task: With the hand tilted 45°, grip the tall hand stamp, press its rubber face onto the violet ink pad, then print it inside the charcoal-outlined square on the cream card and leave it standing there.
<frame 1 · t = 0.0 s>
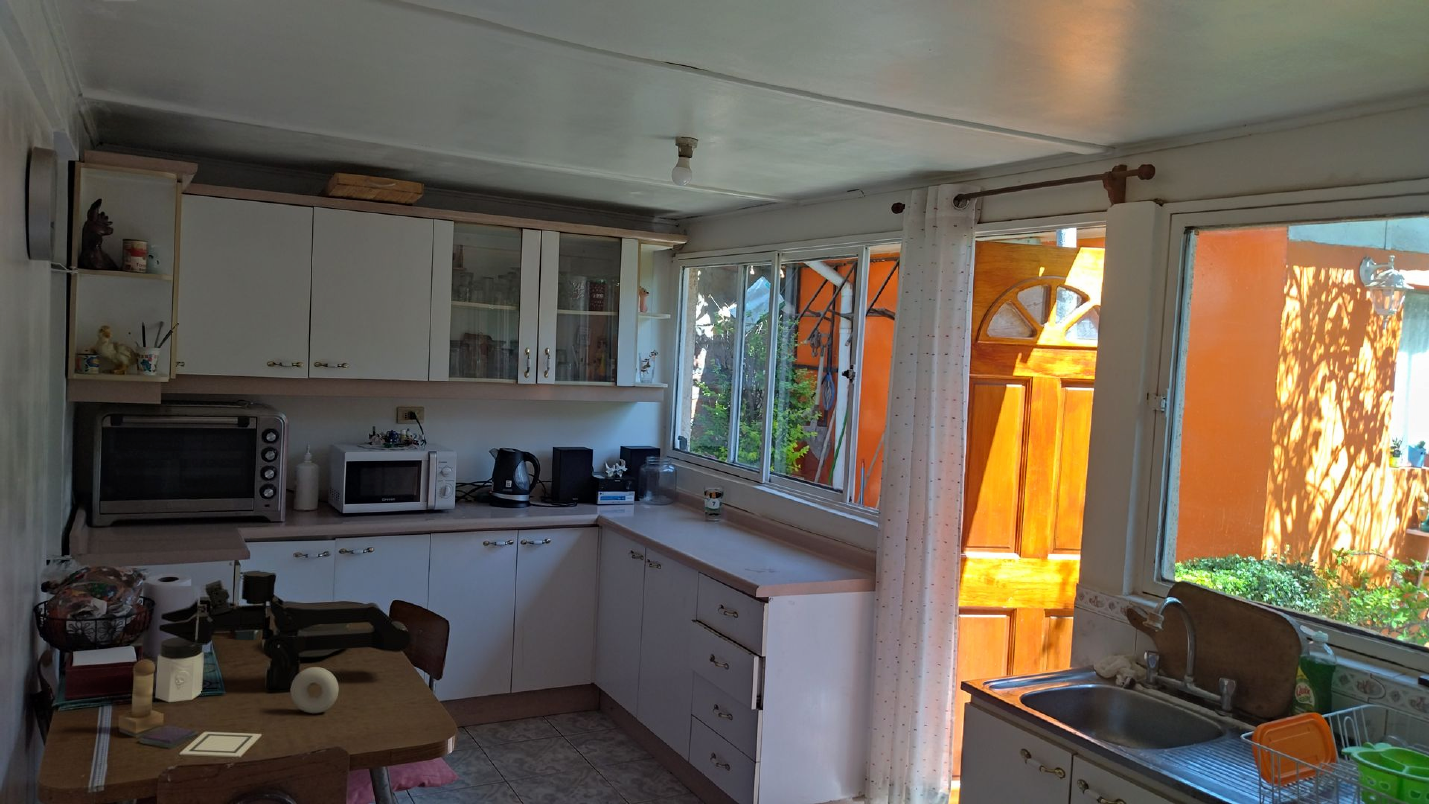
hand: (160, 621, 212), 17 cm above the table, tool horizontal, fingers open, 9 cm apart
casserole: (313, 650, 254), on the table
stamp: (140, 730, 194), on the table
watch: (248, 637, 261), on the table
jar: (178, 696, 215), on the table
print card: (221, 745, 190), on the table
ink pad: (168, 739, 191), on the table
donut: (313, 714, 210), on the table
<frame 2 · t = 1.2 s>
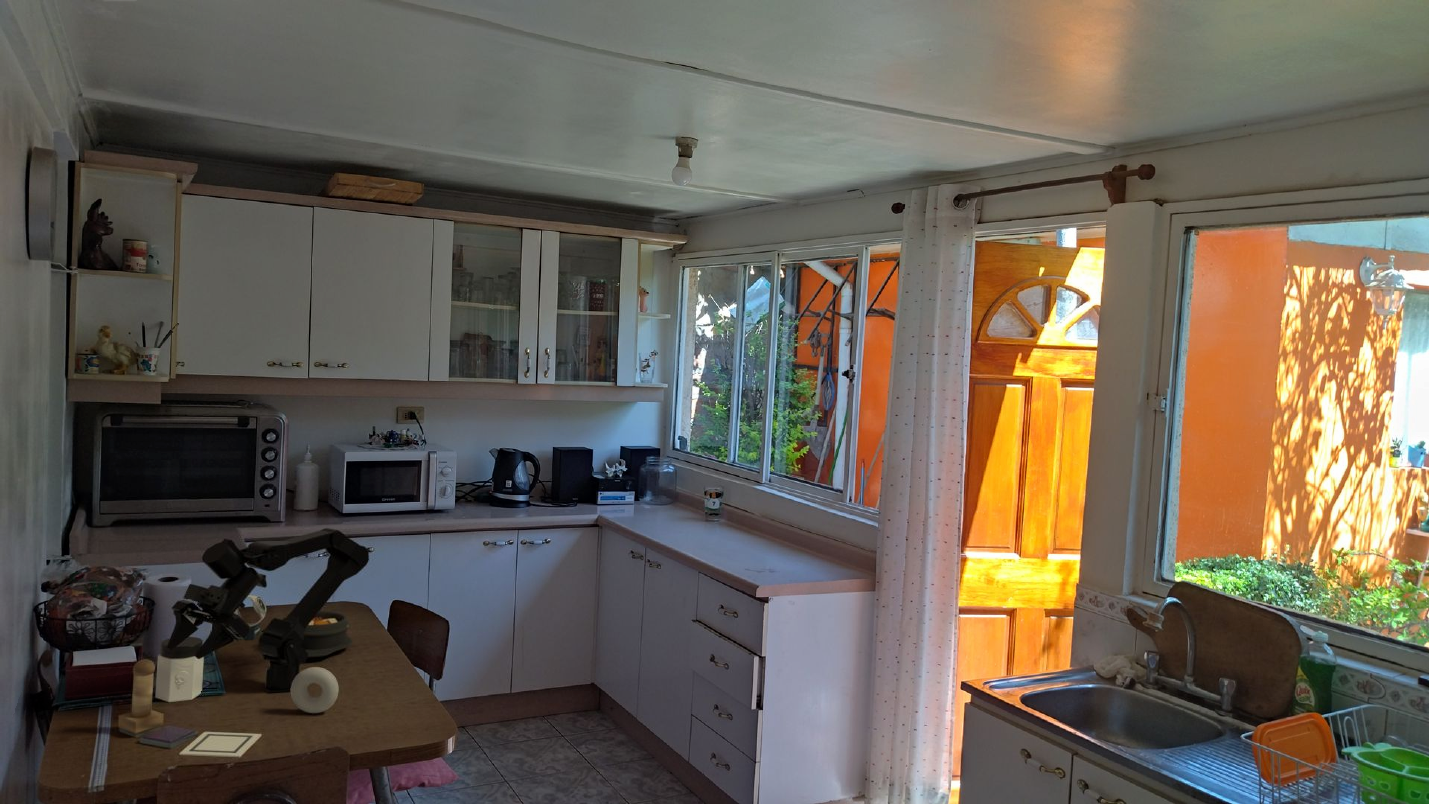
hand: (182, 653, 201), 14 cm above the table, tool tilted 45°, fingers open, 9 cm apart
nothing on the table moved.
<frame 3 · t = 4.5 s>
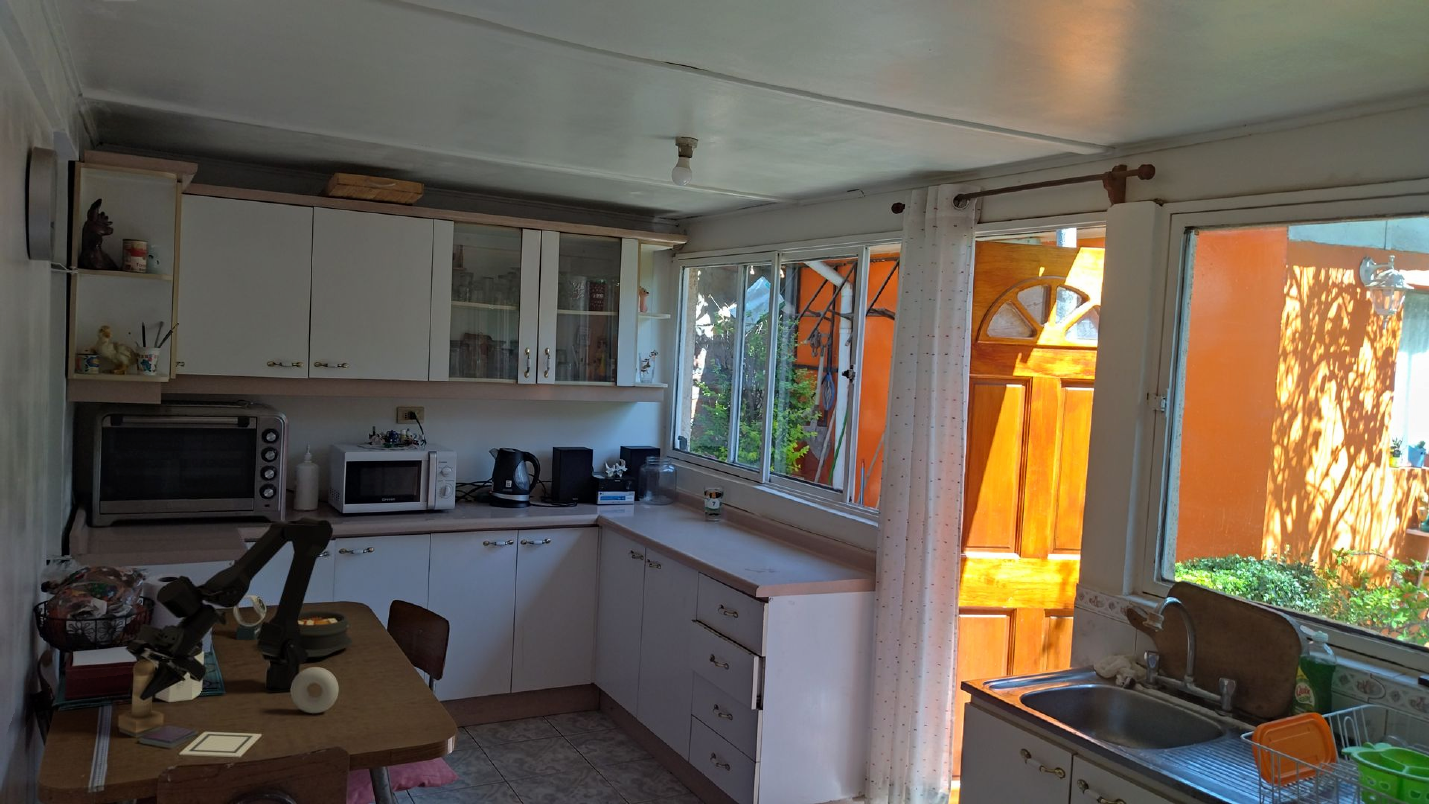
hand: (135, 697, 193), 7 cm above the table, tool tilted 45°, fingers closed on stamp, 3 cm apart
stamp: (140, 730, 194), on the table, touching gripper
everything else where it was.
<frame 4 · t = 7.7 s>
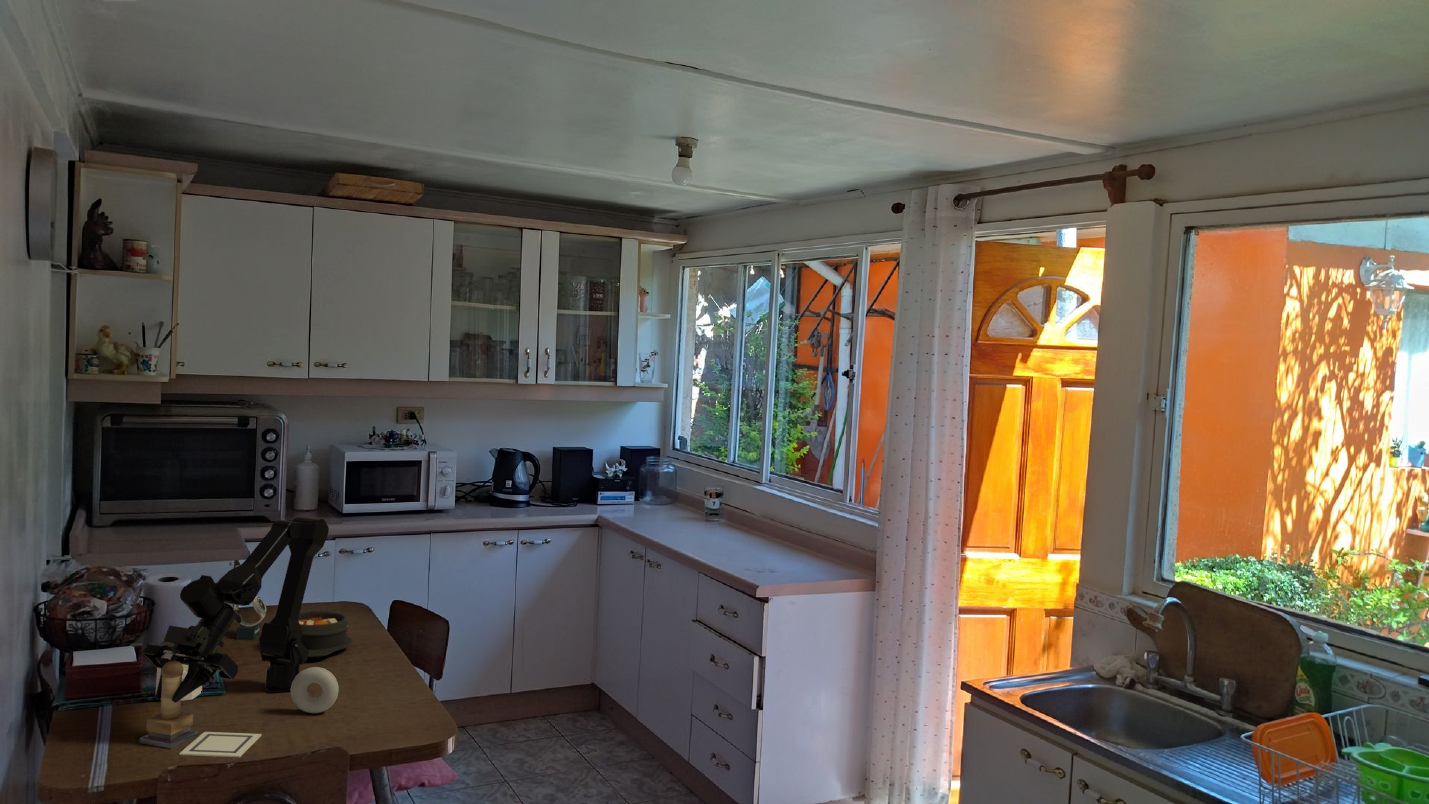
hand: (165, 700, 189), 8 cm above the table, tool tilted 45°, fingers closed on stamp, 3 cm apart
stamp: (169, 732, 191), point 1 cm above the table, touching gripper, ink pad
everything else where it was.
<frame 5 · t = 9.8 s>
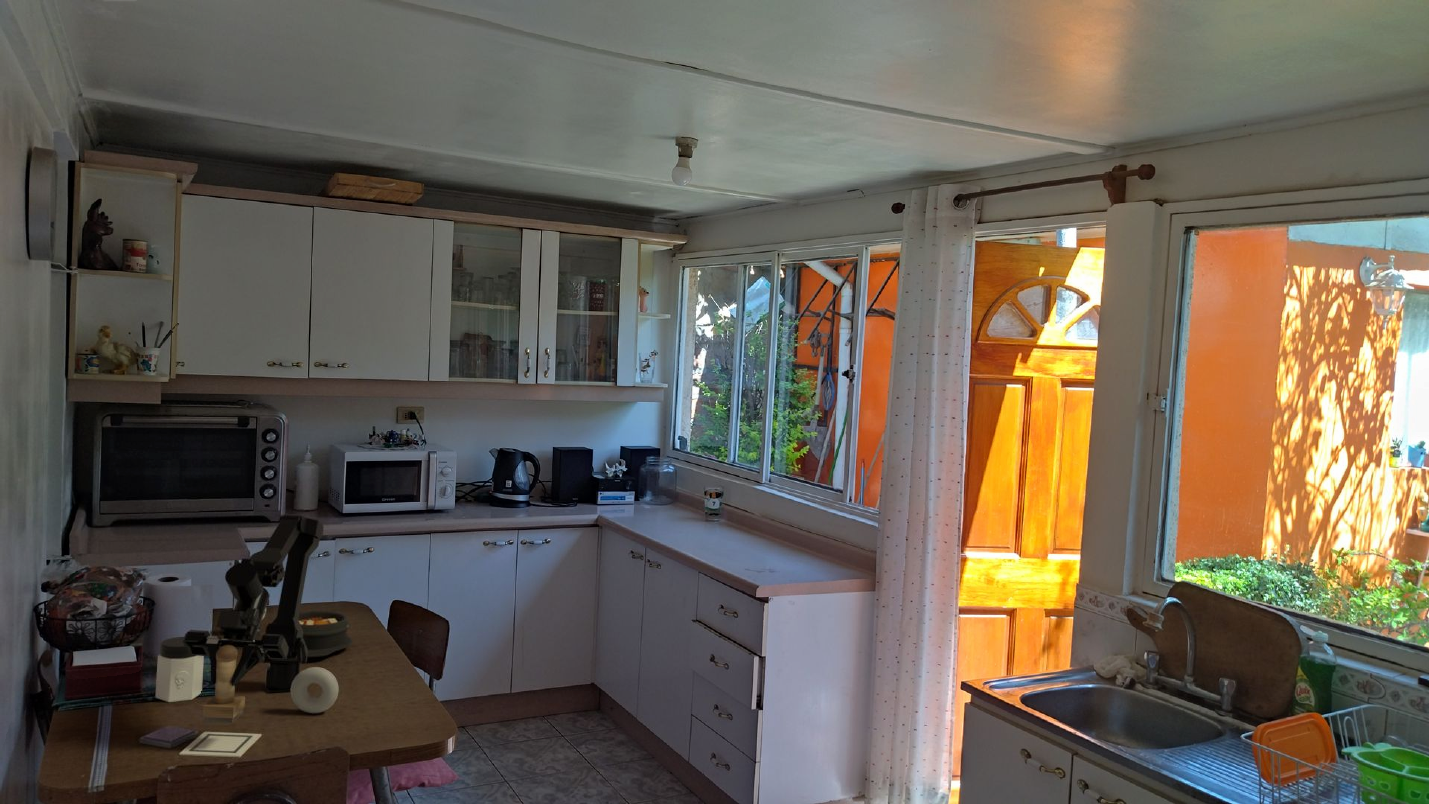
hand: (222, 684, 189), 12 cm above the table, tool tilted 45°, fingers closed on stamp, 3 cm apart
stamp: (223, 717, 191), point 5 cm above the table, touching gripper
everything else where it was.
when the fingers open (7 cm above the table, at t = 11.0 s): stamp stays where it is, resting on print card.
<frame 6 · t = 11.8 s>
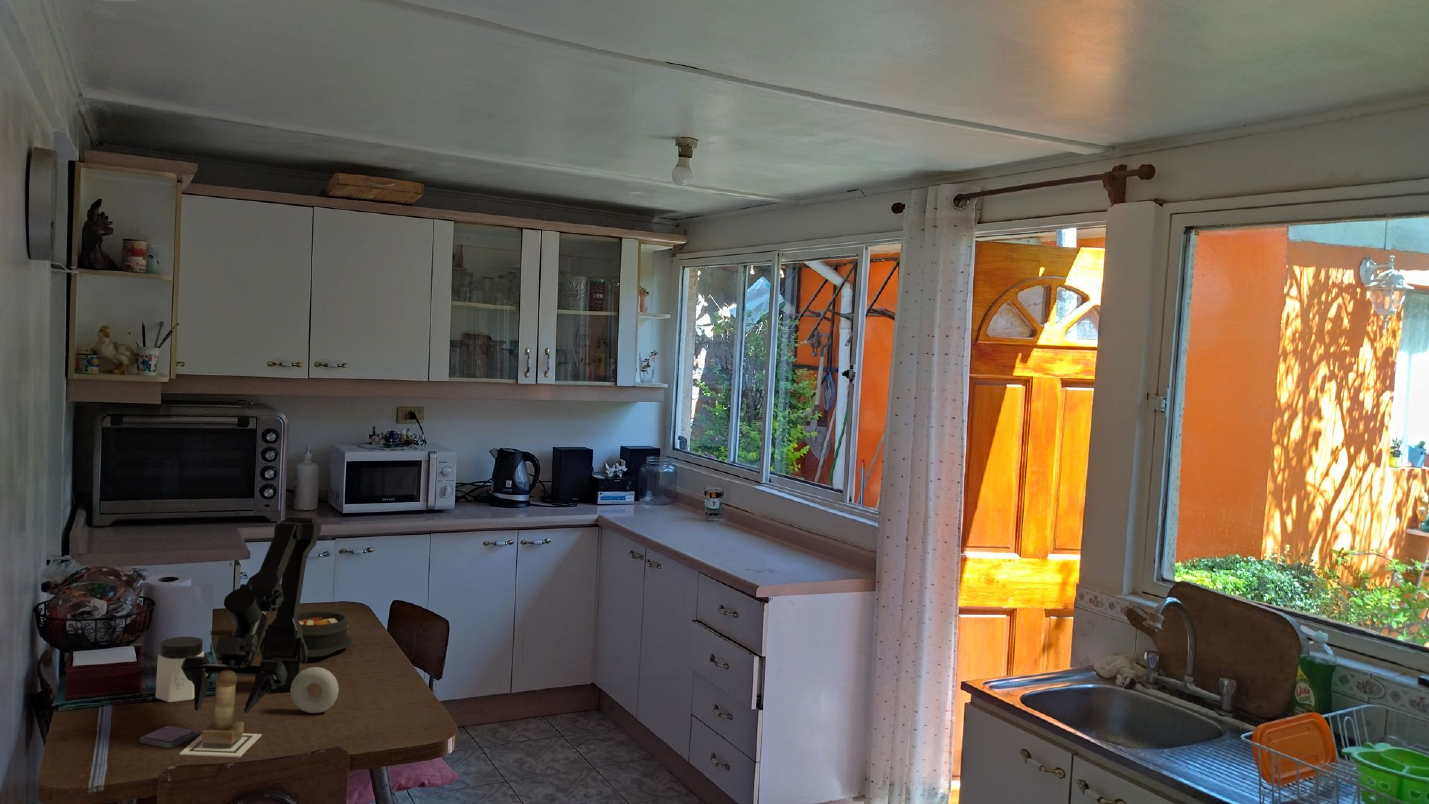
hand: (220, 711, 189), 7 cm above the table, tool tilted 45°, fingers open, 9 cm apart
stamp: (222, 742, 191), resting on print card
everything else where it was.
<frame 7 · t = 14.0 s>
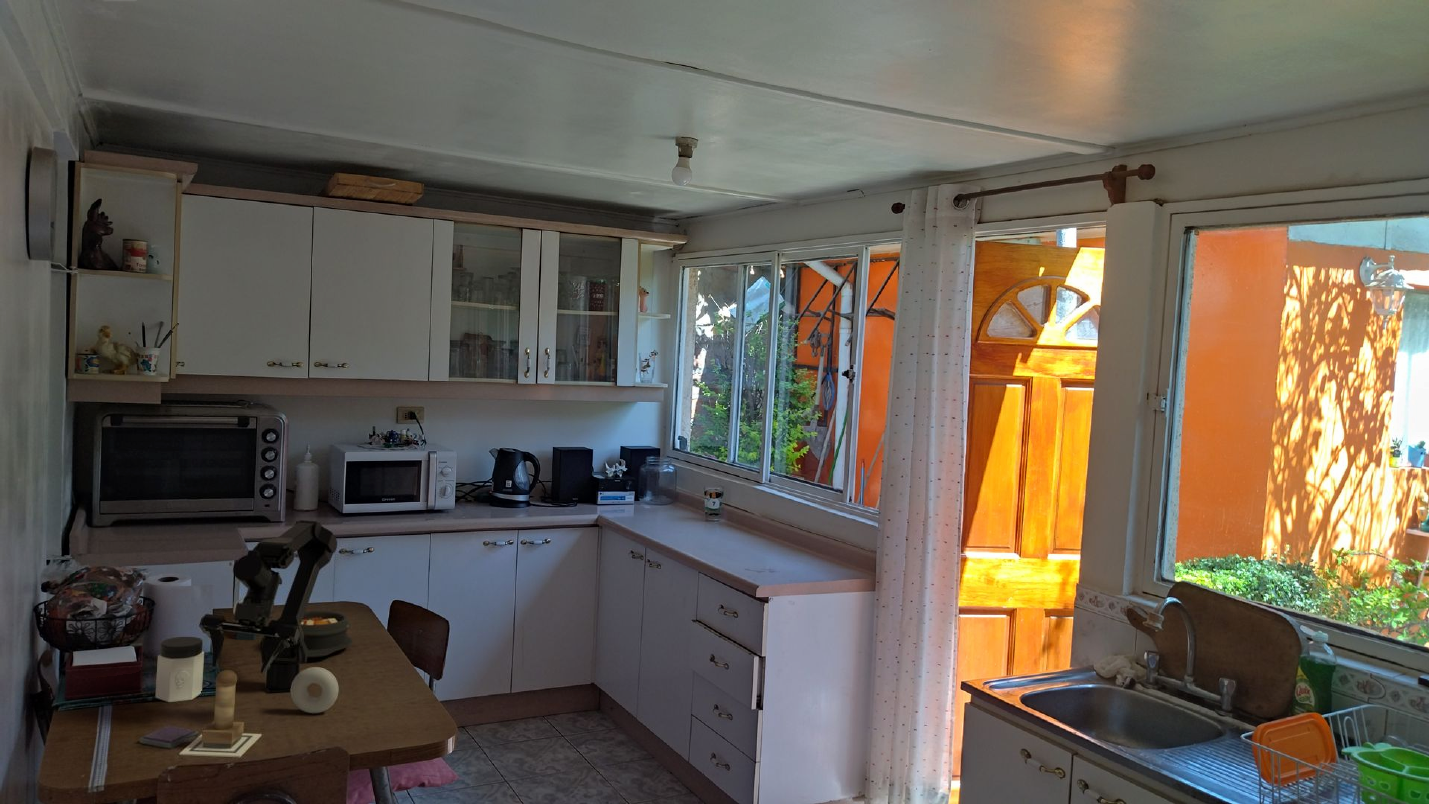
hand: (238, 670, 201), 11 cm above the table, tool tilted 35°, fingers open, 9 cm apart
nothing on the table moved.
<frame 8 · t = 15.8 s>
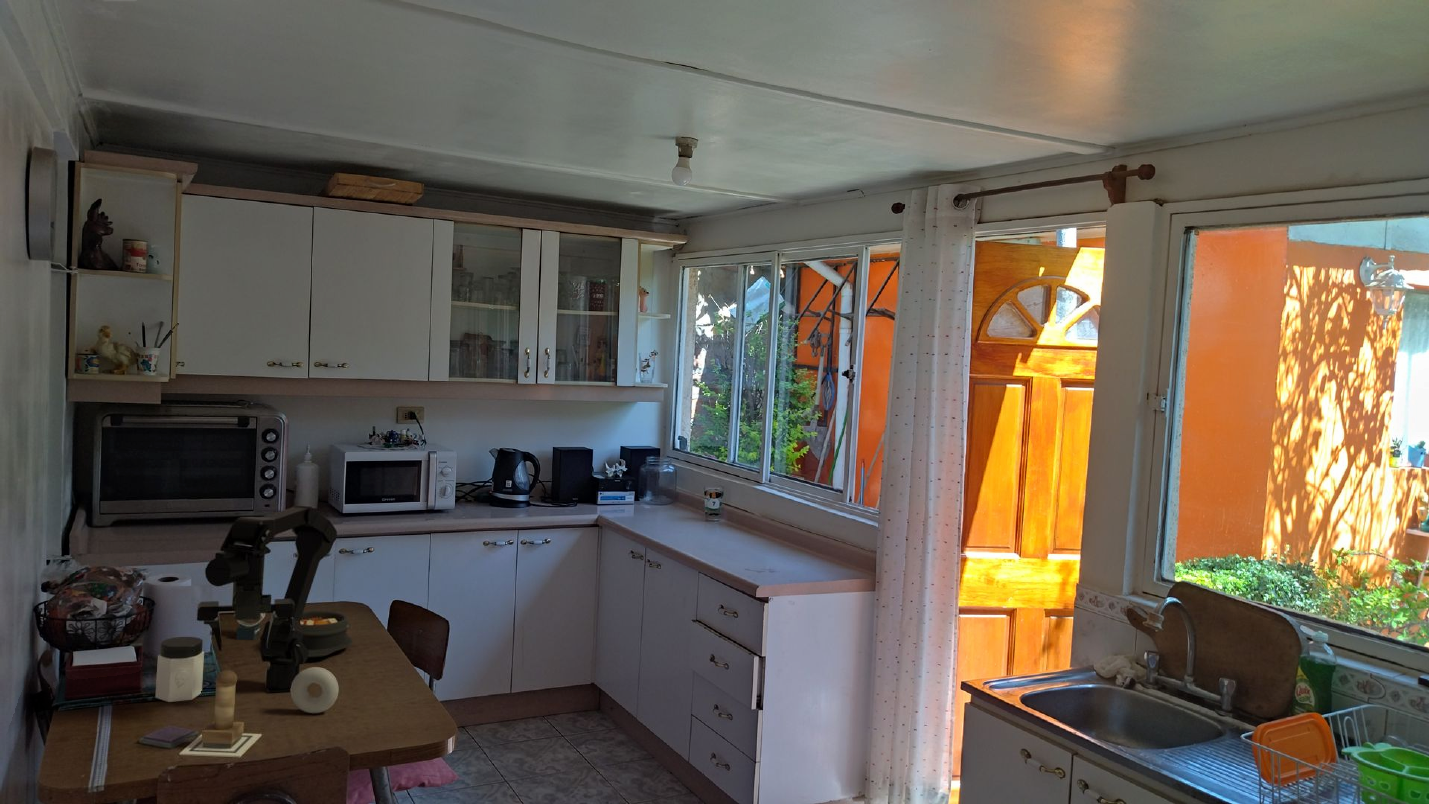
hand: (244, 649, 209), 13 cm above the table, tool pointing down, fingers open, 9 cm apart
nothing on the table moved.
at the end: stamp 0.3 cm off-centre on the print card, point 0.3 cm above the print card's base; stamp tilted 0°; the gripper is holding nothing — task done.
